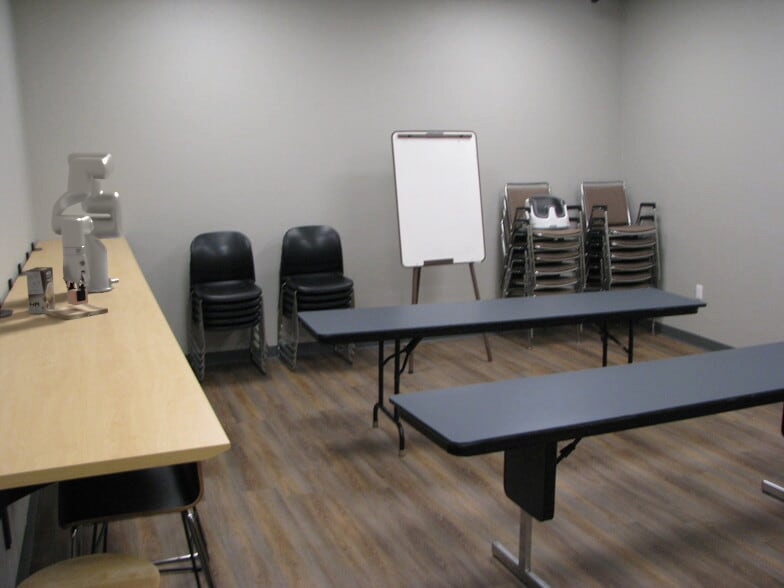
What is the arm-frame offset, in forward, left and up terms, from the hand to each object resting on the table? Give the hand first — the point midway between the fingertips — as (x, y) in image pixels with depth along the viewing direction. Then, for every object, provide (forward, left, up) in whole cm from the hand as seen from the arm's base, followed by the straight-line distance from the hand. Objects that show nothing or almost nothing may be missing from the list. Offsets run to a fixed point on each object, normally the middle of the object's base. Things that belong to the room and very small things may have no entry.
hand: (76, 299), depth 273 cm
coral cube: (0, 0, -2) cm, 2 cm away
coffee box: (+6, -13, -6) cm, 15 cm away
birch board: (0, 0, -5) cm, 5 cm away
